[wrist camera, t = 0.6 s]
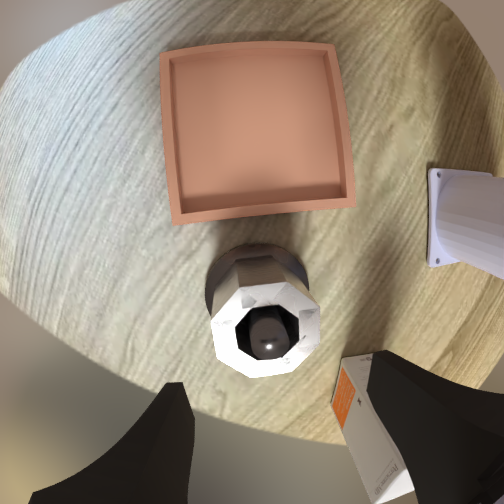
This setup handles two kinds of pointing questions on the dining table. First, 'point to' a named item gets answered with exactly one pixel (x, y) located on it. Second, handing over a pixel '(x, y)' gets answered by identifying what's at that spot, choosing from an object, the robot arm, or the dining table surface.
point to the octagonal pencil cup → (258, 295)
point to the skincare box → (368, 433)
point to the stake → (259, 318)
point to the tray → (254, 130)
